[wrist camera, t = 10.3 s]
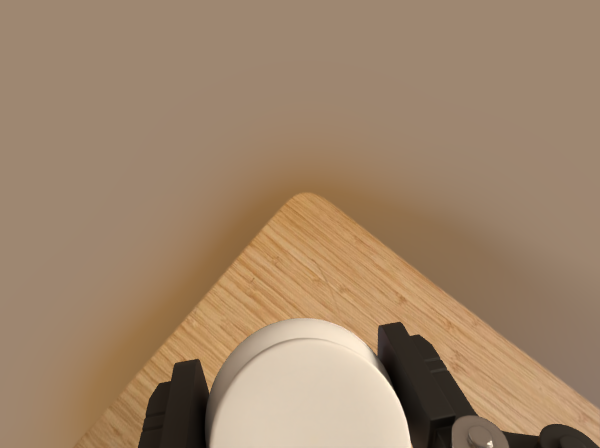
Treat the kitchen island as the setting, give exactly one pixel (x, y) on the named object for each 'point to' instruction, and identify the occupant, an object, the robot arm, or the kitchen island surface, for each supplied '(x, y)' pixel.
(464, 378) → the kitchen island surface
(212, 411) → the pill bottle
